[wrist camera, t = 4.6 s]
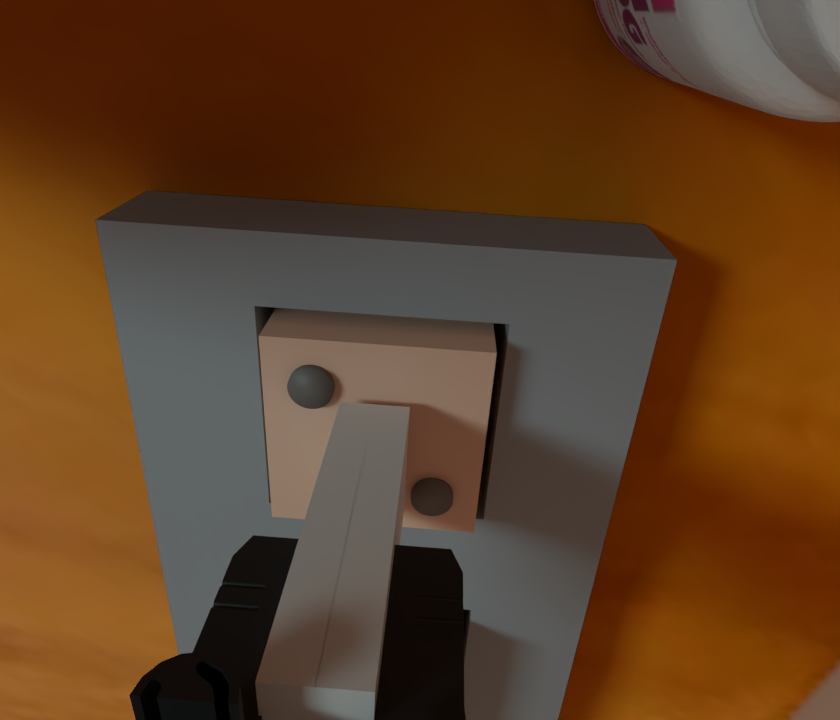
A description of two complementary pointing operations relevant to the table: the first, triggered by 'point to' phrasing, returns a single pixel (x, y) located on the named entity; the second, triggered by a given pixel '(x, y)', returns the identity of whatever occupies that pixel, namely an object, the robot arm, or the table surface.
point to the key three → (379, 403)
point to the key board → (407, 297)
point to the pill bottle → (738, 49)
